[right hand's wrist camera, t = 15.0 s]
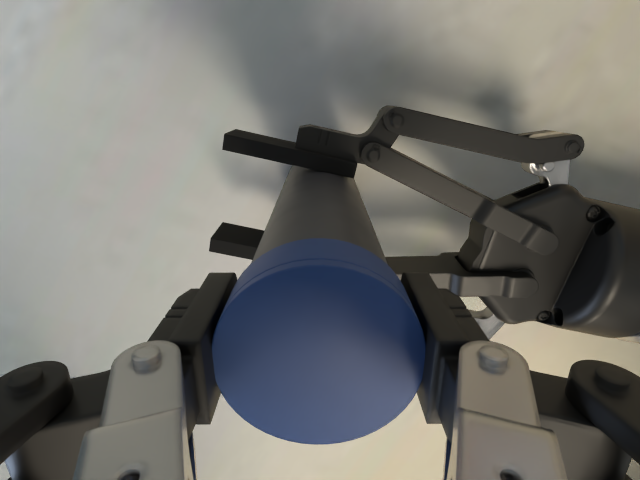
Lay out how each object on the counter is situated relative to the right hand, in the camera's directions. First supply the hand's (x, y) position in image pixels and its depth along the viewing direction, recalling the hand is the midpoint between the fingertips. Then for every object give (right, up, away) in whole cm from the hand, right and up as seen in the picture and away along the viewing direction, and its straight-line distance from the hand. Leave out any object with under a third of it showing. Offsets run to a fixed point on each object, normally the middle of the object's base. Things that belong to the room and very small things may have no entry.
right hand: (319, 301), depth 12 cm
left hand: (-5, +4, +9) cm, 11 cm away
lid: (0, -1, -2) cm, 3 cm away
